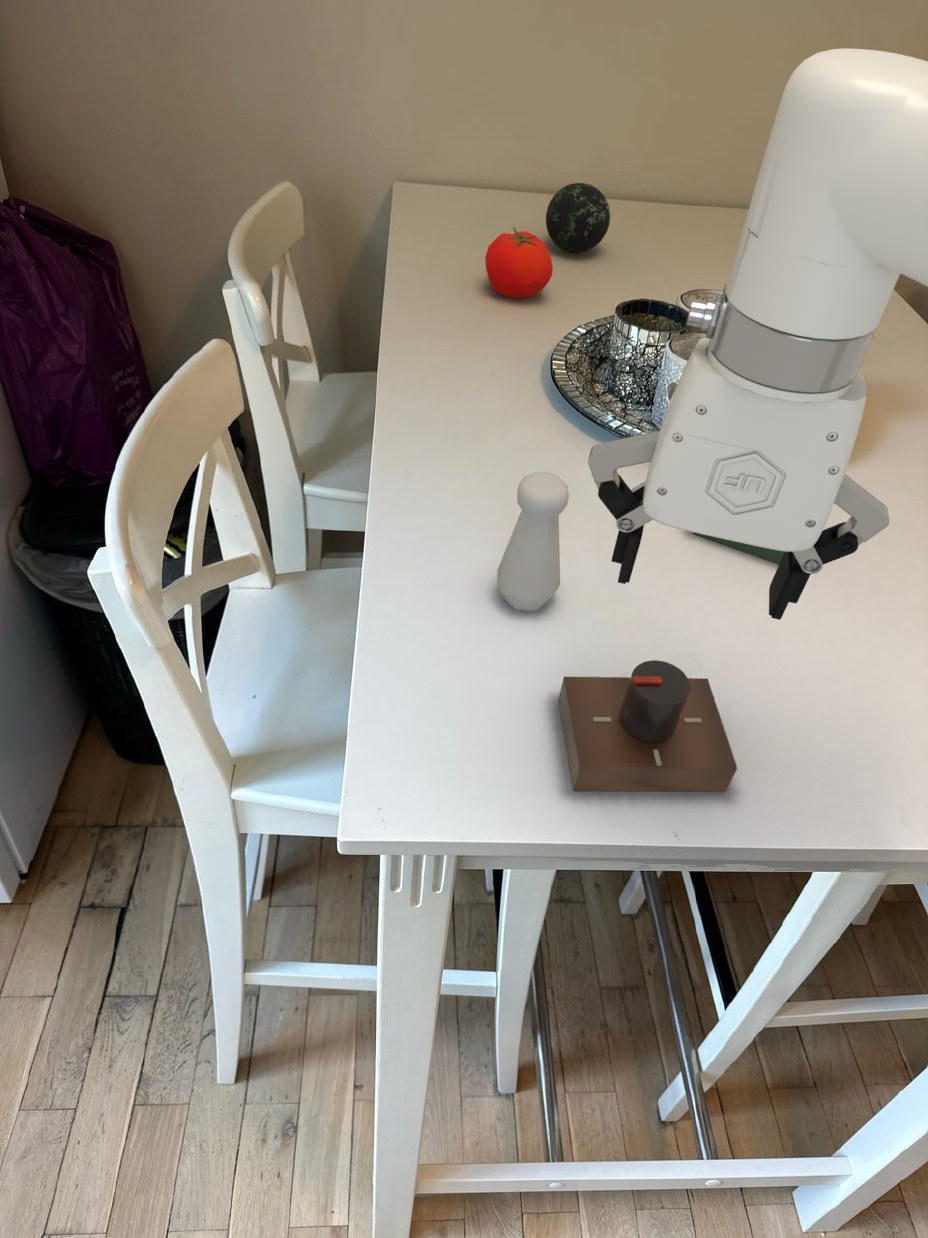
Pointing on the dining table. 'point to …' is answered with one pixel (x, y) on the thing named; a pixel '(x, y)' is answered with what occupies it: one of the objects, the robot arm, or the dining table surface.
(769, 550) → the button box
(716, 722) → the panel
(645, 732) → the knob
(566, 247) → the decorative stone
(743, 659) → the dining table surface
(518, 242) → the tomato
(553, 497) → the salt shaker
